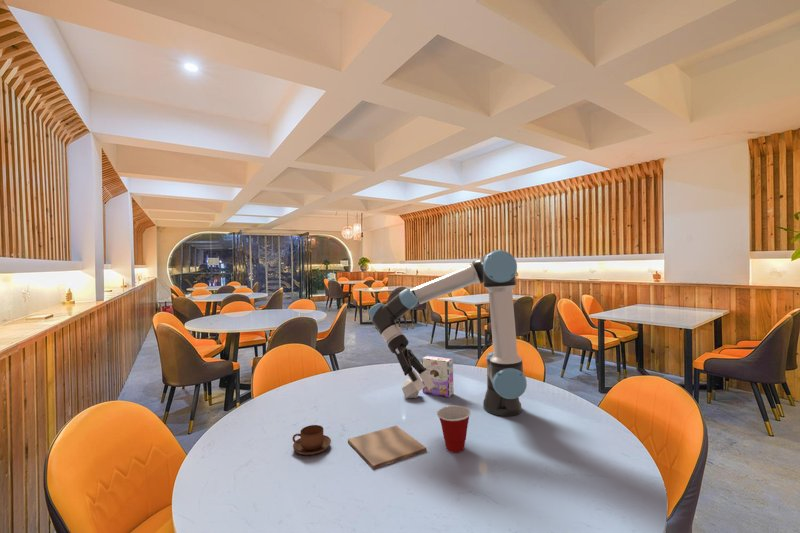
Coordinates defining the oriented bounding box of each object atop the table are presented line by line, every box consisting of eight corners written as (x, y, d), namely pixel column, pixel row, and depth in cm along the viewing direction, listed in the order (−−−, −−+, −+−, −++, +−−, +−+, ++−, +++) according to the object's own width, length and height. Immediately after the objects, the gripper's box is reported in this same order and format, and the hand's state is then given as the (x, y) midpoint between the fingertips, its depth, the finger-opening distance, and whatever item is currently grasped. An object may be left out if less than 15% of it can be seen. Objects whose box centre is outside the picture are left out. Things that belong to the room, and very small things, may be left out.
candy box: (454, 394, 163) (453, 358, 163) (448, 398, 158) (448, 361, 158) (427, 388, 170) (427, 354, 170) (421, 392, 165) (421, 357, 165)
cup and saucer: (297, 462, 107) (296, 442, 107) (290, 445, 118) (289, 426, 118) (335, 452, 112) (335, 433, 112) (325, 436, 123) (325, 419, 123)
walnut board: (396, 428, 128) (396, 425, 128) (426, 450, 112) (426, 447, 112) (347, 442, 119) (347, 439, 119) (373, 469, 102) (373, 465, 102)
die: (414, 403, 154) (425, 383, 157) (397, 392, 155) (408, 373, 158) (413, 403, 161) (423, 384, 164) (397, 393, 163) (407, 374, 166)
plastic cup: (434, 441, 119) (434, 405, 119) (466, 439, 119) (465, 403, 120) (441, 458, 108) (440, 419, 108) (475, 456, 109) (474, 417, 109)
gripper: (398, 347, 145) (428, 393, 136) (374, 342, 122) (407, 396, 113) (412, 336, 144) (443, 381, 135) (391, 329, 122) (425, 382, 113)
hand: (427, 388), depth 124 cm, fingers open, 13 cm apart
